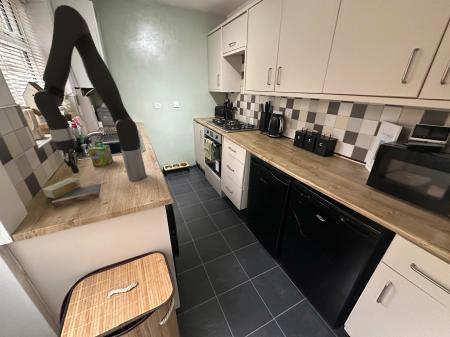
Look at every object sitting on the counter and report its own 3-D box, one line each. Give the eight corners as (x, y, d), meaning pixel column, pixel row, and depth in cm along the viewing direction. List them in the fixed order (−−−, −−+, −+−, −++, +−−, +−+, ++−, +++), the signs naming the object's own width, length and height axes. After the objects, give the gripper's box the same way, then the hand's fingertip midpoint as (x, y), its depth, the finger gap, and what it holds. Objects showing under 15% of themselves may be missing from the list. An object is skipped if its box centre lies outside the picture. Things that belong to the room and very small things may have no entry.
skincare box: (73, 184, 95) (45, 196, 84) (70, 177, 93) (41, 188, 82) (81, 186, 93) (54, 199, 82) (79, 179, 91) (50, 191, 80)
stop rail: (98, 195, 86) (97, 191, 85) (98, 197, 84) (96, 192, 83) (55, 205, 79) (52, 200, 78) (54, 207, 77) (51, 202, 76)
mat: (100, 184, 96) (100, 183, 96) (98, 194, 86) (98, 194, 86) (62, 191, 89) (61, 191, 89) (55, 204, 79) (55, 203, 79)
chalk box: (93, 166, 117) (85, 144, 111) (99, 161, 125) (92, 140, 119) (108, 165, 119) (102, 143, 113) (113, 160, 127) (108, 139, 121)
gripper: (70, 140, 78) (83, 176, 85) (76, 134, 89) (87, 166, 96) (48, 143, 75) (63, 180, 82) (56, 136, 85) (69, 169, 93)
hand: (76, 172), depth 89 cm, fingers closed
